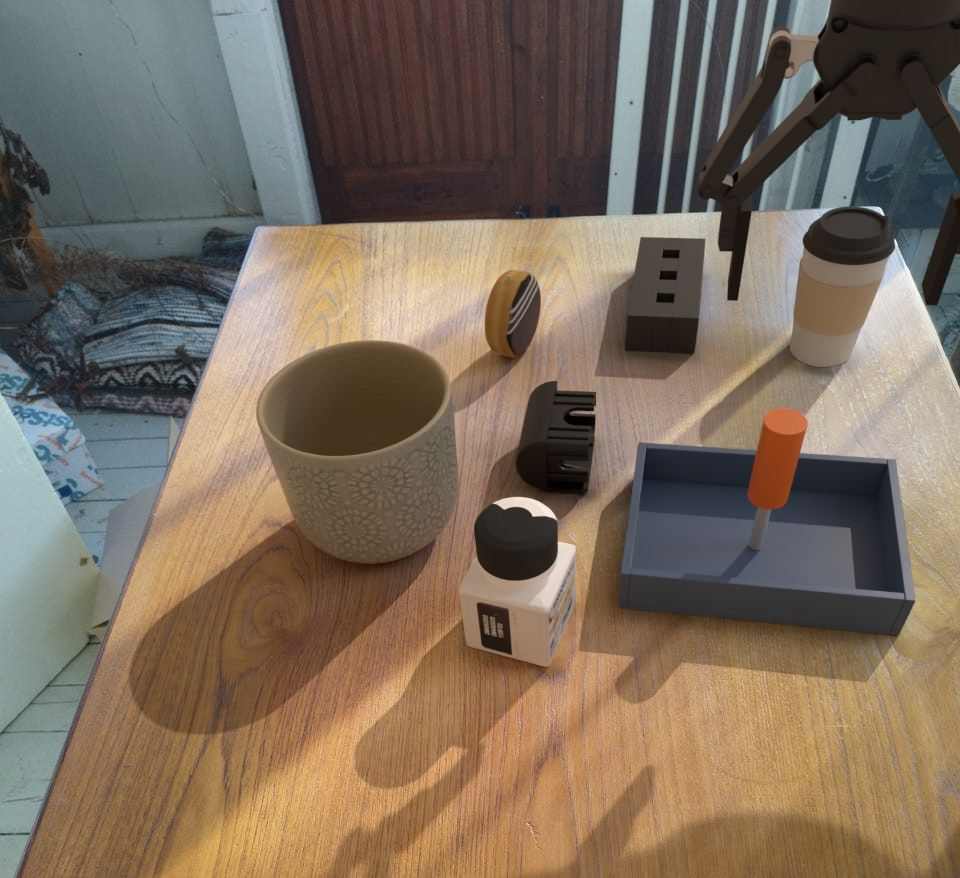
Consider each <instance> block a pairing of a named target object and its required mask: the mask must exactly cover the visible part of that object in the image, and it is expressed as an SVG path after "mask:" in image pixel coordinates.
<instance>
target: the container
mask: <svg viewBox="0 0 960 878" xmlns="http://www.w3.org/2000/svg"><path fill="white" fill-rule="evenodd" d="M473 533H474V543H475V544H474V545H475V553H476V555H475V557H474V559H473V561H472V562H471V564H470V566H469V568H468V570H467V572H466V574H465V576H464V577H463V580H462V581H461V583H460V584H459V587H458V595H459V603H460V610H461V617H462V622H463V623H462V625H463V630H464V638H465V643H466V645H467V647H468V648H472V649H476V650H480V651H483V652H487V653H491V654H496V655H499V656H503V657H507V658H510V659H514V660H517V661H520V662H521V661H522V662H524V663H529V664H533V665H536V666H539V667H540V666H541V667H545V668H547V667H550V665H551V663H552V661H553V658H554V656H555V653H556V651H557V649H558V647H559V644H560V641H561V639H562V637H563V635H564V632H565V630H566V627H567V625H568V623H569V620H570V619H571V616H572V613H573V611H574V608H575V606H576V595H577V594H576V593H577V592H576V588H577V586H576V584H577V583H576V582H577V546H575V544H572V543H567V542H563V541H559V523H558V519H557V516H556V515H555V513H554V512H553V511H552V509H550V507H549V506H547V505H545V504H544V503H543V502H540V501H538V500H536V499H533V498H529V497H524V496H511V497H506V498H502V499H498V500H496V501H494V502H492V503H490V504H489V505H487V506H486V507H485V508H484V509H483V510H482V511H481V512H479V514H478V516H477V517H476V519H475V521H474V525H473Z"/></svg>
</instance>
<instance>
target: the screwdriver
mask: <svg viewBox="0 0 960 878" xmlns="http://www.w3.org/2000/svg"><path fill="white" fill-rule="evenodd" d="M807 419H808V418H807V417H806V416H805V415H804V414H803V413H801V412H800V411H798V410H795V409H792V408H787V407H785V408H784V407H783V408H781V407H780V408H775V409H774V408H773V409H772V410H770V411H768V412H767V413H765V414H764V416H763V420H762V425H761V429H760V434H759V438H758V442H757V448H756V450H757V452H756V456H755V461H754V465H753V470H752V475H751V479H750V484H749V488H748V493H747V496H748V499H749V501H750V502H751V503H752V504H753V505H755V506H757V512H756V516H755V520H754V524H753V529H752V533H751V537H750V542H749V547H750V548H751V549H753V550H760V549H761V548H762V545H763V541H764V537H765V533H766V529H767V525H768V521H769V517H770V513H771V509H777V508H780V507H782V506H784V505H785V504H786V502H787V500H788V496H789V492H790V489H791V485H792V481H793V478H794V474H795V470H796V466H797V463H798V459H799V455H800V453H801V451H802V446H803V444H804V440H805V435H806V433H807V429H808V425H809V423H808V420H807Z"/></svg>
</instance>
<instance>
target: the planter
mask: <svg viewBox="0 0 960 878" xmlns="http://www.w3.org/2000/svg"><path fill="white" fill-rule="evenodd" d="M255 415H256V416H255V417H256V421H257V425H258V428H259V431H260V435H261V437H262V440H263V443H264V445H265V448H266V452H267V454H268V456H269V460H270V461H271V464H272V467H273V469H274V472H275V474H276V477H277V480H278V482H279V484H280V487H281V489H282V492H283V495H284V498H285V501H286V503H287V506H288V509H289V511H290V512H291V515H292V517H293V519H294V521H295V523H296V525H297V527H298V528H299V530H300V531H301V532H302V534H303V535H304V536H305V537H306V538H307V540H309V542H310V543H312V544H313V545H314V546H315V547H316V548H318V549H319V550H320V551H322V552H324V553H326V554H327V555H329V556H332V557H334V558H337V559H339V560H342V561H345V562H350V563H355V564H365V565H371V564H372V565H373V564H383V563H389V562H390V563H391V562H395V561H397V560H400V559H404V558H406V557H408V556H411V555H413V554H415V553H417V552H420V551H421V550H423V549H424V548H425V547H427V546H428V545H430V544H431V543H432V542H433V541H434V540H435V539H437V537H438V536H439V535H440V534H441V533H442V532H443V530H444V529H445V528H446V527H447V524H448V523H449V522H450V520H451V518H452V516H453V513H454V511H455V508H456V505H457V501H458V495H459V465H458V464H459V463H458V455H457V454H458V452H457V439H456V438H457V436H456V423H455V409H454V399H453V391H452V384H451V380H450V377H449V374H448V373H447V370H446V369H445V368H444V366H443V365H442V364H441V362H440V361H438V359H436V358H435V357H434V356H432V355H431V354H430V353H428V352H425V351H424V350H422V349H420V348H417V347H415V346H413V345H409V344H407V343H406V344H405V343H401V342H396V341H390V340H380V339H379V340H376V339H375V340H374V339H373V340H371V339H367V340H366V339H365V340H364V339H363V340H353V341H345V342H341V343H336V344H332V345H328V346H325V347H321V348H319V349H316V350H313V351H311V352H309V353H306V354H304V355H302V356H300V357H298V358H296V359H294V360H292V361H290V363H288V364H287V365H285V366H284V367H282V368H281V369H279V370H278V371H277V372H276V373H275V374H274V375H273V376H272V377H271V378H270V379H269V380H268V382H267V383H266V384H265V386H264V387H263V389H262V391H261V392H260V394H259V396H258V399H257V402H256V407H255Z"/></svg>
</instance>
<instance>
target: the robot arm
mask: <svg viewBox="0 0 960 878" xmlns="http://www.w3.org/2000/svg"><path fill="white" fill-rule="evenodd" d="M828 9H829V10H828V14H827V18H826V20H825V23H824V25H823V27H822V29H821V30H820V32H819V33H818V34H817V36H814V35H804V34H797V33H796V34H795V33H790V29H789V28H788V27H787V26H785V25H779V26H777V27H775V28H774V29H773V30H772V31H771V32H770V34H769V38H768V41H767V45H766V50H765V54H764V58H763V61H762V64H761V65H762V66H761V68H760V69H759V71H758V73H757V75H756V76H755V78H754V79H753V81H752V83H751V84H750V86H749V88H748V90H747V92H746V93H745V94H744V96H743V98H742V100H741V102H740V103H739V104H738V107H737V108H736V110H735V112H734V113H733V114H732V116H731V118H730V119H729V122H728V123H727V125H726V126H725V128H724V130H723V132H722V133H721V135H720V137H719V138H718V140H717V142H716V143H715V145H714V147H713V148H712V150H711V152H710V153H709V155H708V157H707V158H706V160H705V161H704V163H703V165H702V167H701V168H700V170H699V173H698V183H697V184H698V185H697V186H698V187H697V195H698V197H699V198H701V199H702V200H706V201H707V200H710V199H712V200H714V201H716V202H718V203H719V204H720V206H721V211H720V219H719V227H718V234H717V247H718V250H719V252H726V253H727V252H731V255H730V263H729V270H728V277H727V290H726V292H727V293H726V301H728V302H729V301H731V302H733V301H735V302H738V301H739V296H740V295H739V294H740V288H741V282H742V276H743V269H744V264H745V257H746V251H747V244H748V238H749V233H750V225H751V219H752V212H753V194H754V192H756V190H758V188H760V187H761V185H763V184H764V183H765V182H766V181H767V180H768V179H769V178H770V177H771V176H772V175H773V174H774V173H775V172H776V171H777V170H778V169H779V168H780V167H781V166H782V165H783V164H784V163H785V162H786V161H788V159H789V158H790V157H791V156H792V155H793V154H794V153H796V152H797V150H798V149H799V148H800V147H801V146H803V144H804V143H805V142H806V141H807V140H809V138H810V137H811V136H812V135H813V134H815V133H816V132H817V131H820V130H822V129H823V128H824V127H826V125H827V124H828V123H829V122H830V121H832V120H833V119H834V118H835V117H836V116H837V115H838V114H840V115H841V116H842V117H846V119H847V120H846V121H864V120H867V119H871V118H879V119H883V120H886V121H901V120H902V118H903V117H904V116H906V115H909V114H910V113H912V112H914V111H916V109H917V111H918V112H919V115H921V118H922V120H923V122H924V123H925V125H926V127H927V128H928V129H929V130H930V132H931V134H932V136H933V138H934V140H935V141H936V144H937V145H938V146H939V149H940V150H941V152H942V154H943V155H944V158H945V159H946V161H947V162H948V165H949V166H950V169H951V170H952V172H953V173H954V175H955V178H956V179H957V181H958V183H959V184H960V123H959V122H958V120H957V119H956V116H955V115H954V113H953V111H952V109H951V107H950V105H949V104H948V101H947V100H946V98H945V95H944V93H943V91H942V89H941V87H940V85H941V84H942V83H943V82H945V80H946V79H947V78H948V77H949V76H950V75H951V74H952V73H953V72H954V71H955V70H956V69H957V68H958V67H959V66H960V0H830V5H829V8H828ZM807 62H813V66H814V68H815V71H816V72H817V74H818V77H819V78H820V79H819V80H817V82H816V83H815V84H814V85H813V86H812V87H811V88H810V89H809V90H808V92H806V94H805V95H804V97H803V99H802V100H801V102H800V103H799V104H798V105H797V106H796V107H795V108H794V109H793V110H792V111H791V112H790V113H789V114H788V115H787V116H786V117H785V118H784V119H783V120H782V121H781V122H780V123H779V124H778V125H777V126H776V128H775V129H774V130H772V132H771V133H770V134H769V135H768V136H767V137H766V138H764V140H762V142H761V143H760V144H759V145H758V146H757V147H756V148H754V150H753V151H752V152H751V153H750V154H749V155H748V156H747V157H746V158H745V159H744V160H743V162H742V163H740V164H739V166H737V168H735V170H733V172H732V173H731V174H729V172H730V171H731V169H732V167H733V166H734V165H735V163H736V162H737V160H738V158H739V157H740V155H741V153H742V152H743V150H744V149H745V147H746V146H747V144H748V143H749V141H750V139H751V137H752V136H753V134H754V133H755V131H756V130H757V128H758V126H759V125H760V123H761V122H762V120H763V119H764V117H765V115H766V113H767V112H768V110H769V109H770V108H771V105H772V104H773V103H774V101H775V100H776V98H777V95H778V94H779V92H780V89H781V87H782V84H783V82H784V80H785V79H786V80H789V79H791V78H793V77H795V75H797V73H798V72H799V69H800V68H801V67H802V65H803V64H805V63H807ZM950 194H951V195H950V197H949V200H948V204H947V206H946V209H945V213H944V216H943V217H942V221H941V224H940V228H939V231H938V233H937V236H936V240H935V242H934V245H933V248H932V251H931V255H930V258H929V261H928V263H927V266H926V270H925V273H924V276H923V278H922V282H921V289H922V294H923V299H924V303H925V306H938V304H939V302H940V299H941V296H942V294H943V290H944V287H945V285H946V282H947V279H948V276H949V273H950V271H951V269H952V266H953V262H954V259H955V257H956V255H960V192H951V193H950Z"/></svg>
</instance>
